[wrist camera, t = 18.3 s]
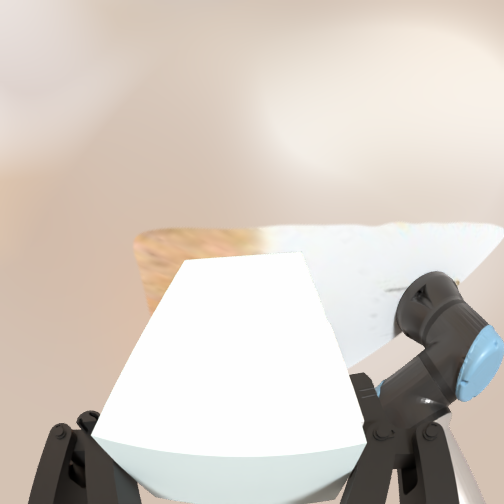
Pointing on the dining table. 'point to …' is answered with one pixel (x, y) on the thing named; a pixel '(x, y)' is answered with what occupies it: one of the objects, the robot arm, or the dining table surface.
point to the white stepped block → (236, 390)
